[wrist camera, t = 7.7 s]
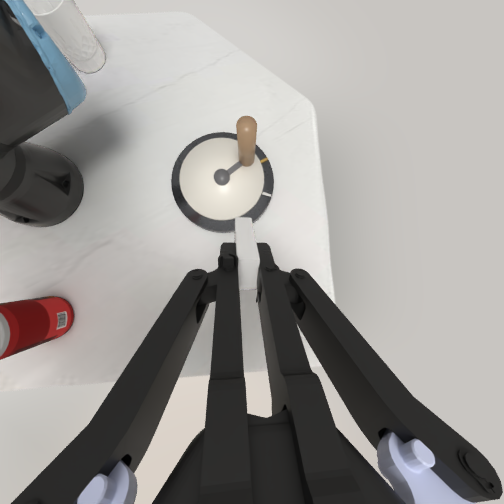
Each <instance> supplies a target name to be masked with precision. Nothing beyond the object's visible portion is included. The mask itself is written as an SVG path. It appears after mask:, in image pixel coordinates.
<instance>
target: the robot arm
mask: <svg viewBox="0 0 504 504" xmlns="http://www.w3.org/2000/svg"><path fill="white" fill-rule="evenodd" d="M85 98H86V89H85V86H84V84H83V82H82V81H81V79H80V78H79V76H78V75H77V73H76V72H75V71H74V69H73V68H72V66H71V65H70V63H69V62H68V61H67V59H66V58H65V57H64V55H63V54H62V52H61V51H60V50H59V48H58V47H57V46H56V44H55V43H54V42H53V40H52V39H51V38H50V36H49V35H48V34H47V33H46V31H45V30H44V28H43V27H42V25H41V24H40V23H39V21H38V20H37V19H36V17H35V16H34V14H33V13H32V12H31V10H30V9H29V8H28V6H27V5H26V4H25V2H24V1H23V0H0V215H2V216H4V217H6V218H8V219H10V220H12V221H14V222H17V223H20V224H25V225H30V226H36V227H47V226H52V225H55V224H58V223H60V222H62V221H64V220H65V219H67V218H68V217H69V216H70V215H71V214H72V213H73V212H74V211H75V210H76V208H77V207H78V205H79V203H80V201H81V198H82V194H83V181H82V177H81V174H80V172H79V170H78V168H77V167H76V166H75V165H74V163H72V162H71V161H70V160H69V159H67V158H66V157H64V156H62V155H61V154H59V153H57V152H56V151H53V150H51V149H49V148H46V147H42V146H38V145H35V144H31V143H27V142H24V141H26V140H27V139H29V138H31V137H32V136H34V135H35V134H37V133H39V132H40V131H42V130H43V129H45V128H47V127H48V126H50V125H51V124H53V123H55V122H56V121H58V120H59V119H61V118H63V117H64V116H66V115H67V114H68V115H69V114H70V113H71V112H72V110H73V109H74V108H75V107H77V106H78V105H79V104H80V103H82V102H83V101H84V100H85ZM256 288H257V289H258V290H257V298H256V302H258V306H259V313H260V320H261V327H262V334H263V341H264V348H265V355H266V362H267V369H268V376H269V383H270V389H271V397H272V416H271V417H268V418H264V417H260V416H256V415H251V414H247V402H246V386H245V378H244V370H243V351H242V332H241V314H240V295H239V290H256ZM215 301H216V307H215V320H214V333H213V347H212V360H211V373H210V380H209V385H208V397H207V410H206V421H205V428H204V429H203V430H202V431H201V432H200V433H199V434H198V435H197V436H196V437H195V438H194V439H193V440H192V442H191V443H190V445H189V446H188V448H187V449H186V451H185V452H184V454H183V455H182V457H181V459H180V460H179V462H178V463H177V465H176V467H175V468H174V470H173V471H172V473H171V474H170V476H169V477H168V479H167V481H166V482H165V484H164V485H163V487H162V488H161V490H160V492H159V493H158V495H157V496H156V498H155V500H154V501H153V503H152V504H475V503H477V502H481V501H489V500H495V499H500V497H501V495H502V493H503V491H502V485H501V481H500V479H499V477H498V475H497V473H496V471H495V469H494V468H493V467H492V466H491V464H490V463H489V461H488V460H487V459H486V458H485V457H484V456H483V455H482V454H481V453H480V452H479V451H478V450H477V449H476V448H475V447H474V446H473V445H471V444H470V443H469V442H468V441H466V440H465V439H464V438H463V437H462V436H460V435H459V434H458V433H457V432H456V431H454V430H453V429H452V428H451V427H450V426H448V425H447V424H446V423H445V422H444V421H442V420H441V419H440V418H439V417H437V416H436V415H435V414H434V413H433V412H431V411H430V410H429V409H428V408H427V407H425V406H424V405H423V404H422V403H420V402H419V401H418V400H417V399H416V398H414V397H413V396H412V394H411V393H410V392H409V391H408V390H407V389H406V387H405V386H404V385H403V384H402V383H401V381H400V380H399V379H398V378H397V377H396V376H395V374H394V373H393V372H392V371H391V370H390V369H389V368H388V366H387V365H386V364H385V363H384V361H383V360H382V359H381V358H380V357H379V356H378V354H377V353H376V352H375V351H374V350H373V349H372V347H371V346H370V345H369V344H368V343H367V341H366V340H365V339H364V338H363V337H362V336H361V334H360V333H359V332H358V331H357V330H356V329H355V327H354V326H353V325H352V324H351V323H350V321H349V320H348V319H347V318H346V317H345V316H344V314H343V313H342V312H341V311H340V310H339V309H338V307H337V306H336V305H335V304H334V303H333V301H332V300H331V299H330V298H329V297H328V296H327V294H326V293H325V292H324V291H323V290H322V289H321V287H320V286H319V285H318V284H317V283H316V281H315V280H314V279H313V278H312V277H311V276H310V274H309V273H308V272H306V271H305V270H303V269H293V270H292V271H291V273H288V272H284V271H281V270H279V267H278V266H277V265H276V264H275V263H274V259H273V256H272V253H271V249H270V246H269V245H268V244H267V243H256V238H255V233H254V228H253V223H252V218H247V217H235V241H234V243H223V244H222V245H221V249H220V256H219V258H218V269H216V270H215V271H213V272H209V273H207V272H206V271H205V270H202V269H194V270H192V271H190V272H188V273H187V275H186V276H185V278H184V279H183V281H182V282H181V284H180V285H179V287H178V289H177V290H176V292H175V293H174V295H173V296H172V298H171V299H170V301H169V302H168V304H167V305H166V307H165V308H164V310H163V311H162V313H161V314H160V316H159V318H158V319H157V321H156V322H155V324H154V325H153V327H152V328H151V330H150V331H149V333H148V334H147V336H146V337H145V339H144V340H143V342H142V343H141V345H140V347H139V348H138V350H137V351H136V353H135V354H134V356H133V357H132V359H131V360H130V362H129V363H128V365H127V366H126V368H125V369H124V371H123V373H122V374H121V376H120V377H119V379H118V380H117V382H116V383H115V385H114V386H113V388H112V389H111V391H110V392H109V394H108V396H107V397H106V399H105V400H104V402H103V403H102V405H101V406H100V408H99V409H98V411H97V412H96V414H95V415H94V417H93V418H92V420H91V421H90V423H89V424H88V425H87V427H85V429H84V430H82V431H81V432H80V434H79V435H78V436H77V437H76V438H75V439H74V440H73V441H72V442H71V443H70V444H69V445H68V446H67V447H66V448H65V449H64V450H63V451H62V452H61V453H60V454H59V455H58V456H57V457H56V458H55V459H54V460H53V461H52V462H51V463H50V464H49V465H48V466H47V467H46V468H45V469H44V470H43V471H42V472H41V473H40V474H39V475H38V476H37V478H36V479H35V480H34V481H33V482H32V483H31V484H30V485H29V486H28V487H27V488H26V489H25V490H24V491H23V492H22V493H21V494H20V495H19V496H18V497H17V498H16V499H15V500H14V501H13V502H12V503H11V504H134V502H135V498H136V494H137V480H136V477H135V475H134V472H135V471H136V469H137V467H138V465H139V463H140V462H141V460H142V458H143V456H144V455H145V453H146V451H147V449H148V447H149V444H150V442H151V440H152V438H153V436H154V434H155V431H156V429H157V427H158V424H159V422H160V420H161V417H162V415H163V412H164V410H165V408H166V405H167V403H168V401H169V398H170V395H171V394H172V391H173V389H174V386H175V384H176V382H177V380H178V377H179V375H180V372H181V370H182V368H183V365H184V363H185V361H186V358H187V356H188V354H189V351H190V349H191V346H192V344H193V342H194V339H195V337H196V335H197V332H198V330H199V328H200V325H201V323H202V321H203V318H204V316H205V313H206V311H207V309H208V306H209V303H211V302H215ZM296 323H297V324H296ZM297 325H298V326H299V328H300V330H301V331H302V333H303V335H304V336H305V338H306V340H307V341H308V343H309V345H310V346H311V348H312V350H313V351H314V353H315V355H316V357H317V358H318V360H319V362H320V363H321V365H322V367H323V368H324V370H325V372H326V373H327V375H328V377H329V378H330V380H331V382H332V383H333V385H334V387H335V389H336V390H337V392H338V393H339V395H340V397H341V398H342V400H343V402H344V403H345V405H346V407H347V409H348V410H349V412H350V414H351V415H352V417H353V419H354V420H355V422H356V423H357V425H358V426H359V428H360V429H361V431H362V432H363V434H364V435H365V436H366V437H367V439H368V440H369V442H370V443H371V444H372V445H373V447H374V448H375V449H376V450H377V457H378V467H379V469H380V471H381V473H382V474H383V476H384V477H385V478H387V479H388V480H389V481H390V483H391V485H392V486H393V489H394V490H393V489H392V488H391V487H390V486H389V484H388V483H386V481H385V480H384V479H383V478H382V477H381V476H380V475H379V474H378V472H377V471H376V470H375V469H374V468H373V467H372V466H371V465H370V464H369V463H368V461H367V460H366V459H365V458H364V457H363V456H362V455H361V454H360V453H359V452H358V450H357V449H356V448H355V447H354V446H353V445H352V444H351V443H350V442H349V441H348V439H347V438H346V437H345V436H344V435H343V434H342V433H341V432H340V431H339V430H338V429H337V428H336V426H335V423H334V420H333V417H332V414H331V411H330V408H329V405H328V402H327V399H326V396H325V393H324V390H323V387H322V385H321V382H320V379H319V377H318V376H317V374H315V373H313V372H312V370H311V368H310V365H309V362H308V359H307V355H306V352H305V349H304V346H303V343H302V340H301V336H300V333H299V330H298V327H297Z"/></svg>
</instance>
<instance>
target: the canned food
mask: <svg viewBox="0 0 504 504" xmlns="http://www.w3.org/2000/svg"><path fill="white" fill-rule="evenodd" d="M73 318H74V314H73V310H72V307H71V305H70V304H69V303H68V302H67V301H66V300H64V299H62V298H59V297H54V296H48V297H42V298H35V299H28V300H21V301H14V302H8V303H1V304H0V360H1V359H3V358H6V357H9V356H11V355H14V354H17V353H19V352H22V351H24V350H27V349H30V348H32V347H35V346H37V345H40V344H43V343H45V342H48V341H51V340H53V339H56V338H58V337H60V336H62V335H63V334H64V333H66V332H67V331H68V330H69V328H70V327H71V325H72V323H73Z"/></svg>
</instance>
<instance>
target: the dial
mask: <svg viewBox="0 0 504 504" xmlns="http://www.w3.org/2000/svg"><path fill="white" fill-rule="evenodd" d="M236 127H237V140H234V139H230V138H213V139H209V140H206V141H204V142H202V143H200V144H198V145H197V146H196V147H194V148H193V149H192V150H191V151H190V152H189V153H188V155H187V156H186V158H185V159H184V161H183V163H182V166H181V170H180V187H181V191H182V194H183V196H184V198H185V199H186V201H187V202H188V204H189V205H190V206H191V207H192V208H193V209H194V210H195V211H196V212H198V213H199V214H200V215H202V216H204V217H206V218H209V219H213V220H219V221H226V220H232V219H235V217H241V216H243V215H245V214H246V213H247V212H249V211H250V210H251V209H252V208H253V207H254V206H255V205H256V203H257V202H258V200H259V198H260V196H261V194H262V190H263V185H264V172H263V168H262V165H261V162H260V160H259V158H258V157H257V155H256V154H255V146H256V132H257V123H256V121H255V119H254V118H252V117H250V116H243V117H241V118H240V119H239V120H238V121H237V124H236Z"/></svg>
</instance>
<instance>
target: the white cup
mask: <svg viewBox="0 0 504 504" xmlns="http://www.w3.org/2000/svg"><path fill="white" fill-rule="evenodd" d="M23 1H24V2H25V4H26V5H27V6H28V8H29V9H30V10H31V12H32V13H33V14H34V16H35V17H36V19H37V20H38V21H39V23H40V24H41V25H42V27H43V28H44V30H45V31H46V33H47V34H48V35H49V36H50V38H51V39H52V40H53V42H54V43H55V44H56V46H57V47H58V48H59V50H60V51H61V52H62V53H63V54H64V55H65V56H66V57H67V58H68V59H69V60H70V61H71V62H72V63H73V65H74V66H75V67H77V68H78V69H79V70H80V71H82V72H85V73H92V72H96V71H98V70H99V69H101V68H102V66H103V65H104V63H105V58H106V56H105V53H104V50H103V49H102V47H101V45H100V44H99V42H98V41H97V39H96V37H95V35H94V33H93V31H92V30H91V28H90V27H89V25H88V23H87V21H86V20H85V18H84V16H83V15H82V13H81V12H80V10H79V8H78V7H77V6H76V3H75V2H74V0H23Z"/></svg>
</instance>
